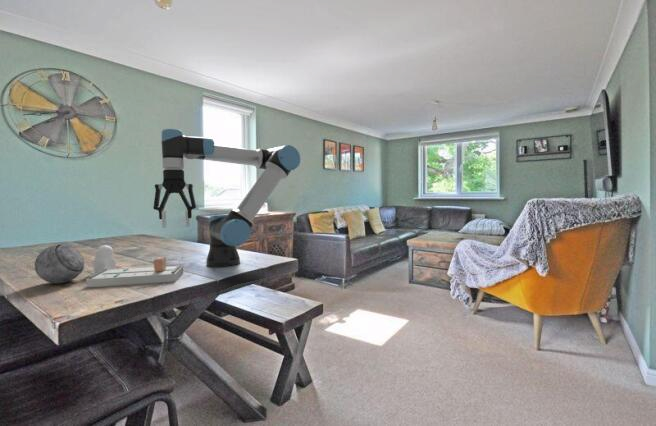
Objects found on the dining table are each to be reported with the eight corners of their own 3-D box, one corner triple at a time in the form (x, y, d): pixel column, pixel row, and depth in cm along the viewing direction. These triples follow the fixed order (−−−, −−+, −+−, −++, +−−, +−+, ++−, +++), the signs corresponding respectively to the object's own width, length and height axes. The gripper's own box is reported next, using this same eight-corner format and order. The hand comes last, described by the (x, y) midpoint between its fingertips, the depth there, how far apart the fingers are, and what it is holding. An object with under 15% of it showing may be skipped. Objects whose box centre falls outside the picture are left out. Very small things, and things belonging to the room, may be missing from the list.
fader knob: (166, 268, 134) (165, 256, 134) (162, 271, 129) (162, 258, 129) (158, 268, 133) (157, 256, 133) (154, 271, 128) (153, 259, 128)
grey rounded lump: (70, 287, 121) (67, 246, 120) (25, 289, 118) (22, 248, 117) (92, 276, 135) (90, 240, 134) (52, 278, 133) (50, 241, 132)
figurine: (104, 275, 136) (103, 247, 135) (89, 275, 138) (87, 246, 137) (118, 271, 143) (117, 244, 142) (104, 271, 145) (102, 243, 144)
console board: (183, 272, 140) (183, 264, 139) (175, 281, 126) (175, 271, 126) (103, 277, 133) (103, 268, 133) (86, 287, 120) (86, 277, 119)
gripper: (202, 170, 136) (205, 225, 137) (147, 170, 131) (150, 227, 133) (199, 168, 128) (202, 227, 130) (141, 168, 124) (144, 229, 126)
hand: (176, 226), depth 131 cm, fingers open, 8 cm apart
